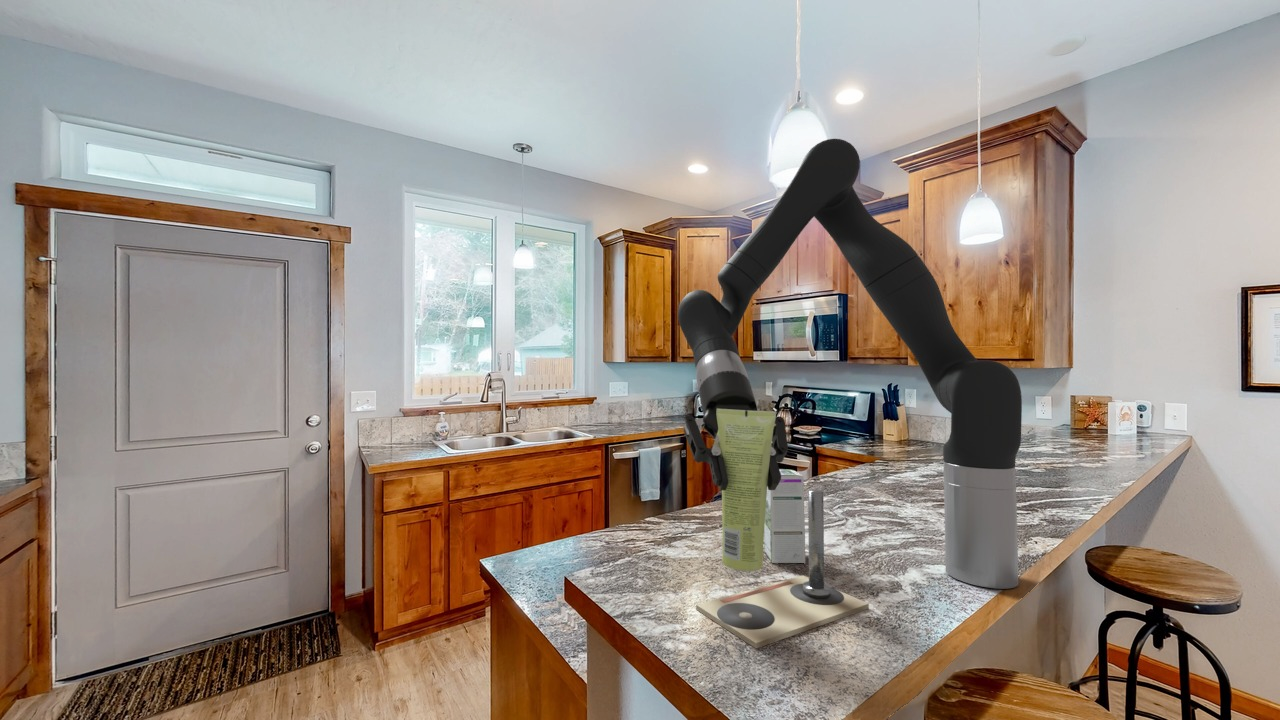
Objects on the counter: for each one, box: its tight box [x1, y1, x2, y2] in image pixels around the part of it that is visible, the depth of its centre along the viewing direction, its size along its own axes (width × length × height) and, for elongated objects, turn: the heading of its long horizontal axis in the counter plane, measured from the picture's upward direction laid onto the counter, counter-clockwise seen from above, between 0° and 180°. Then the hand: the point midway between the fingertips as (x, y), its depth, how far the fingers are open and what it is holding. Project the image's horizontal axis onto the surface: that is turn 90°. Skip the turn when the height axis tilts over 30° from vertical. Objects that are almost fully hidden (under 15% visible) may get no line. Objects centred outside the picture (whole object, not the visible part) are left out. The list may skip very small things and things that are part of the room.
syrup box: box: [763, 468, 806, 565], centre depth 84 cm, size 6×6×14 cm
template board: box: [695, 575, 870, 649], centre depth 65 cm, size 20×11×1 cm, turn 121°
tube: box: [716, 409, 777, 572], centre depth 63 cm, size 6×5×20 cm
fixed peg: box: [803, 488, 832, 599], centre depth 69 cm, size 4×4×14 cm
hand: (749, 486), depth 61 cm, fingers closed on tube, 5 cm apart
